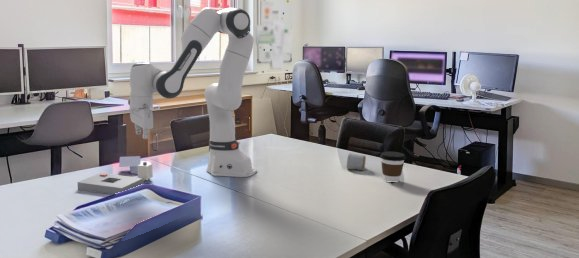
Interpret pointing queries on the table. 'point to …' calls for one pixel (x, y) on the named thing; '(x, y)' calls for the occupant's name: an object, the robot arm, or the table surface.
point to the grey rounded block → (356, 161)
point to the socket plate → (109, 183)
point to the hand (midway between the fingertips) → (141, 136)
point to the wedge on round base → (131, 163)
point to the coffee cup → (392, 165)
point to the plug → (145, 171)
